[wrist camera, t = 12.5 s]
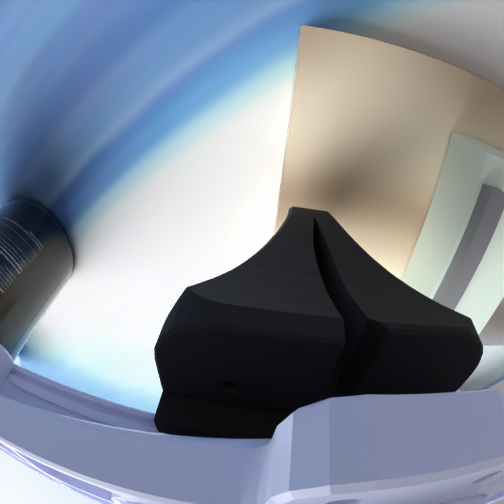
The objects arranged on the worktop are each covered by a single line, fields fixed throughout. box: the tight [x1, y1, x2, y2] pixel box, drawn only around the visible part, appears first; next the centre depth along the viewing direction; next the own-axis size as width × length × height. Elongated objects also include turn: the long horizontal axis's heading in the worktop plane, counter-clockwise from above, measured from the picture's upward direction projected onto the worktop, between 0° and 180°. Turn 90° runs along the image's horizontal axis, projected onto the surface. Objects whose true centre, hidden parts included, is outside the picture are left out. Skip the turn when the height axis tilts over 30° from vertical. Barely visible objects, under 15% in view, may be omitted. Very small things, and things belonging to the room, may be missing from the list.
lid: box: [401, 131, 504, 335], centre depth 11 cm, size 9×4×3 cm, turn 175°
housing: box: [274, 25, 504, 346], centre depth 13 cm, size 14×19×2 cm
